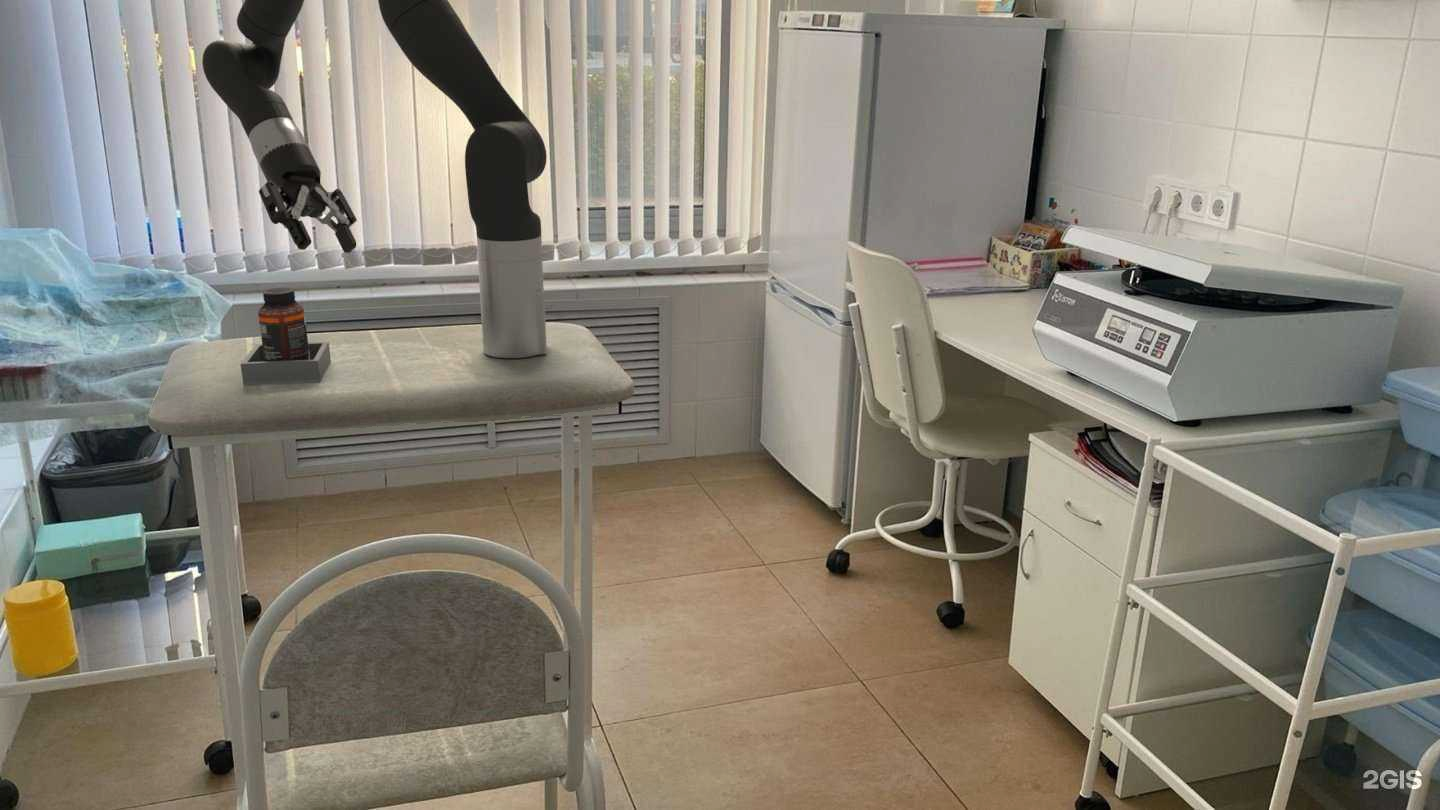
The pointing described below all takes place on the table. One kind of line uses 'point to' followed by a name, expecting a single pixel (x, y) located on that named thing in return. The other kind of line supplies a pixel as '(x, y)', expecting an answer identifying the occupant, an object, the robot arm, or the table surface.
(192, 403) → the table surface
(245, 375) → the grey storage bin
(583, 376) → the table surface
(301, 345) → the supplement bottle
